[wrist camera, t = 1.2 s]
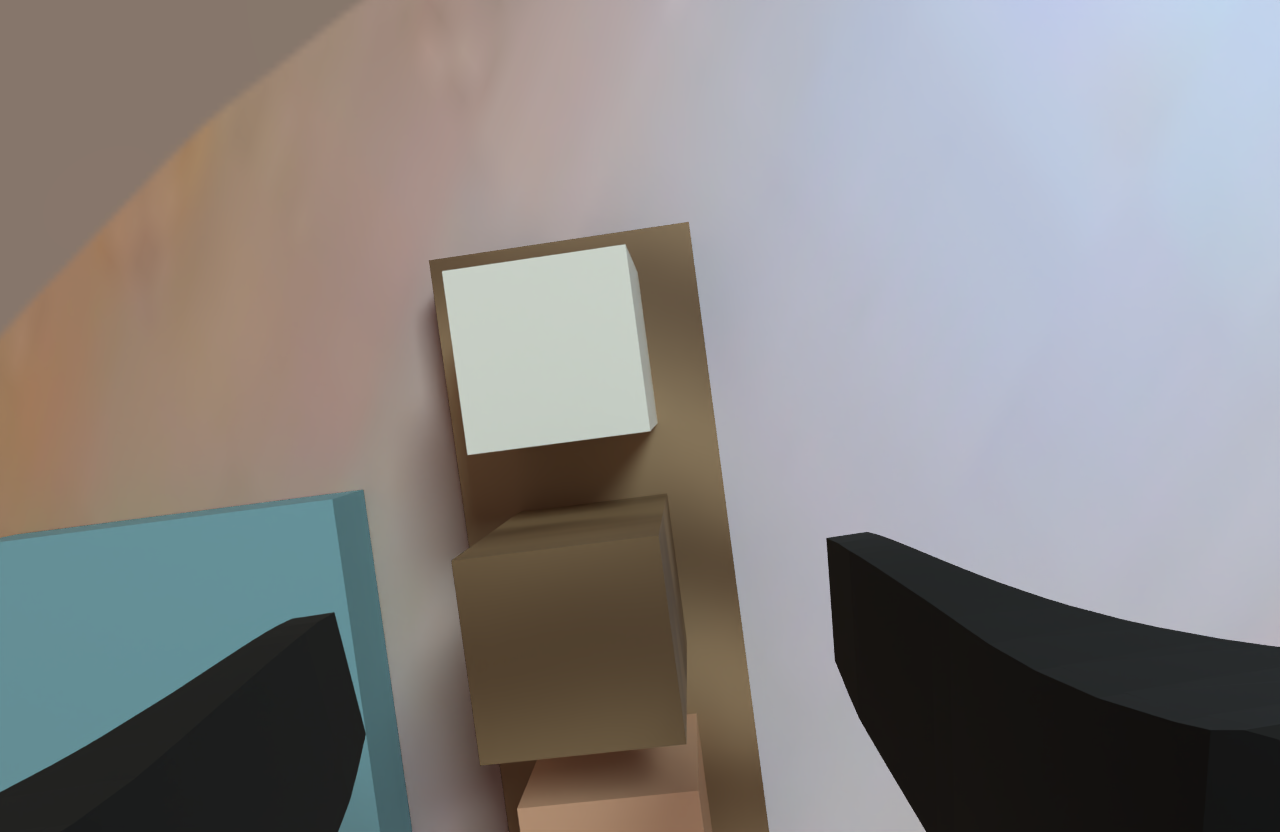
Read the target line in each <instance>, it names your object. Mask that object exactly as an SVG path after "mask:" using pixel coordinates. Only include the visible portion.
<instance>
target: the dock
mask: <svg viewBox="0 0 1280 832" xmlns="http://www.w3.org/2000/svg"><path fill="white" fill-rule="evenodd" d="M332 612H335V616H336V620H337V624H338V628H339V632H340V635H341V639H342V643H343V647H344V651H345V655H346V659H347V663H348V666H349V670H350V674H351V678H352V682H353V686H354V690H355V694H356V697H357V701H358V705H359V709H360V713H361V717H362V721H363V725H364V728H365V732H366V736H365V741H364V745H363V750H362V754H361V759H360V763H359V768H358V772H357V776H356V780H355V784H354V787H353V791H352V795H351V799H350V802H349V805H348V807H347V810H346V813H345V815H344V818H343V821H342V823H341V826H340V828H339V831H338V832H412V827H411V820H410V813H409V806H408V799H407V792H406V785H405V778H404V771H403V764H402V757H401V750H400V743H399V736H398V729H397V722H396V715H395V708H394V701H393V694H392V687H391V680H390V673H389V666H388V659H387V652H386V645H385V638H384V631H383V625H382V618H381V611H380V604H379V597H378V590H377V583H376V576H375V569H374V562H373V555H372V548H371V541H370V534H369V527H368V520H367V513H366V506H365V499H364V492H363V490H358V491H350V492H342V493H334V494H327V495H319V496H311V497H303V498H296V499H288V500H280V501H272V502H265V503H257V504H249V505H241V506H234V507H226V508H218V509H211V510H203V511H195V512H187V513H180V514H172V515H164V516H156V517H149V518H141V519H133V520H125V521H118V522H110V523H102V524H94V525H87V526H79V527H71V528H64V529H56V530H48V531H40V532H33V533H25V534H17V535H12V536H7V537H3V538H0V792H1V791H3V790H5V789H7V788H9V787H11V786H13V785H15V784H16V783H18V782H20V781H22V780H24V779H26V778H28V777H30V776H32V775H34V774H35V773H37V772H39V771H41V770H43V769H45V768H47V767H49V766H51V765H52V764H54V763H56V762H58V761H60V760H61V759H63V758H65V757H67V756H69V755H70V754H72V753H74V752H76V751H78V750H79V749H81V748H83V747H84V746H86V745H88V744H90V743H91V742H93V741H95V740H97V739H98V738H100V737H101V736H103V735H105V734H106V733H108V732H110V731H111V730H113V729H114V728H116V727H118V726H119V725H121V724H123V723H124V722H126V721H127V720H129V719H131V718H132V717H134V716H135V715H137V714H139V713H140V712H142V711H144V710H145V709H147V708H148V707H150V706H152V705H153V704H155V703H157V702H158V701H160V700H161V699H163V698H165V697H166V696H168V695H169V694H171V693H173V692H174V691H176V690H177V689H179V688H180V687H182V686H183V685H185V684H186V683H188V682H189V681H191V680H192V679H194V678H195V677H197V676H198V675H200V674H201V673H203V672H205V671H206V670H208V669H209V668H211V667H212V666H214V665H215V664H217V663H218V662H220V661H221V660H223V659H224V658H226V657H227V656H229V655H230V654H232V653H234V652H235V651H237V650H238V649H240V648H241V647H243V646H244V645H246V644H247V643H249V642H251V641H252V640H254V639H255V638H257V637H259V636H260V635H262V634H264V633H265V632H267V631H269V630H270V629H272V628H274V627H276V626H278V625H279V624H281V623H284V622H286V621H288V620H290V619H292V618H299V617H306V616H312V615H319V614H326V613H332Z"/></svg>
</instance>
